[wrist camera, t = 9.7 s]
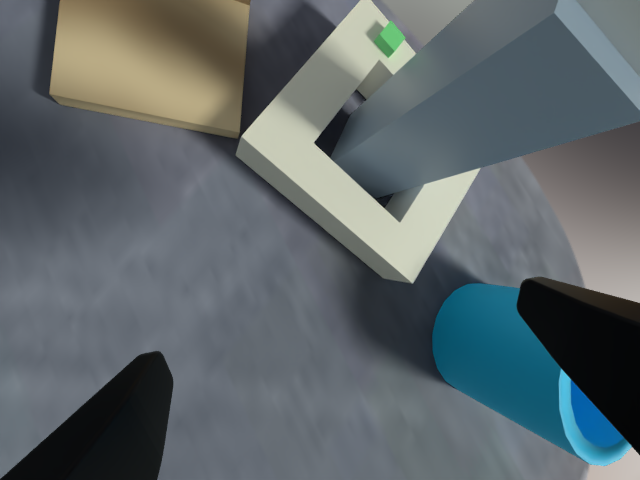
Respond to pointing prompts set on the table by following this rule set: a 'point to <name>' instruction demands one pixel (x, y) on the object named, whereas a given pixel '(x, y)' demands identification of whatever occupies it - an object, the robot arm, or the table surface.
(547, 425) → the mug
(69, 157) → the table surface
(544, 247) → the table surface
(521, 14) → the plug
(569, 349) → the robot arm
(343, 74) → the block
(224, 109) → the tan base plate
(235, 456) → the table surface
